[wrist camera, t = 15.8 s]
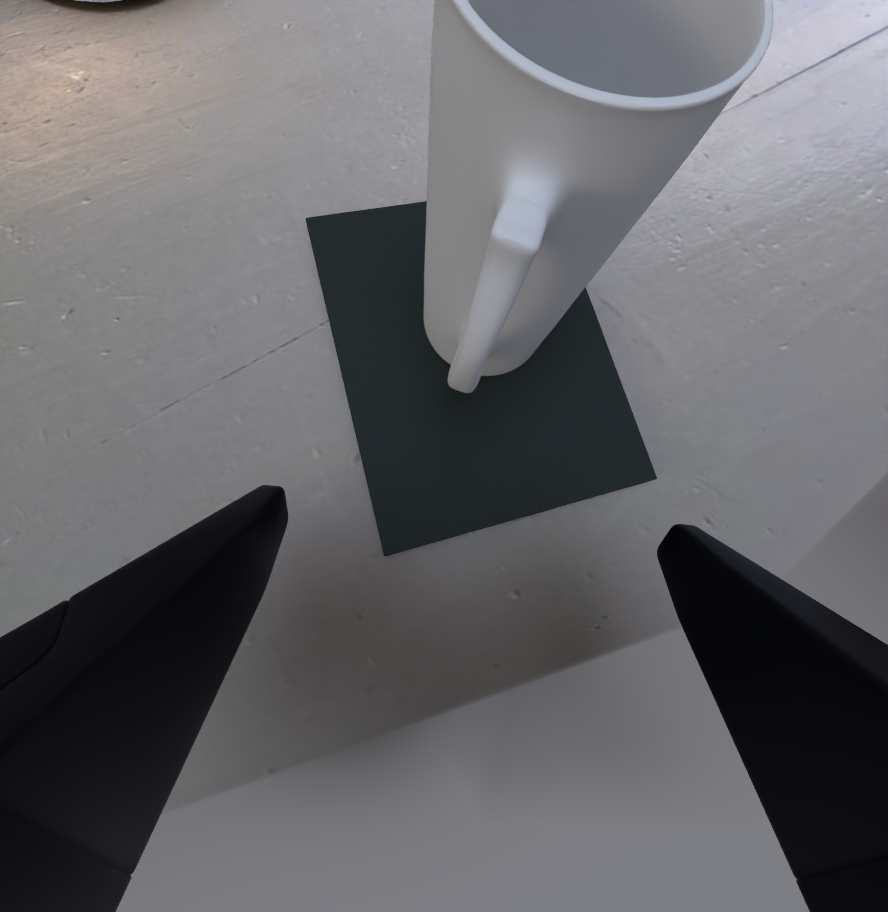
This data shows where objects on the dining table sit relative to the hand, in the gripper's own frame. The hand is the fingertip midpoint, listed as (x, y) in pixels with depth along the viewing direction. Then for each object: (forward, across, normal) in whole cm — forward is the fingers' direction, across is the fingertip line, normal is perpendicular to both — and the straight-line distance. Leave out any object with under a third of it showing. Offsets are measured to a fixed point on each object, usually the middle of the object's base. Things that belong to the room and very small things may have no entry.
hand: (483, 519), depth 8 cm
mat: (+13, -1, 0) cm, 13 cm away
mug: (+12, -1, 0) cm, 12 cm away
